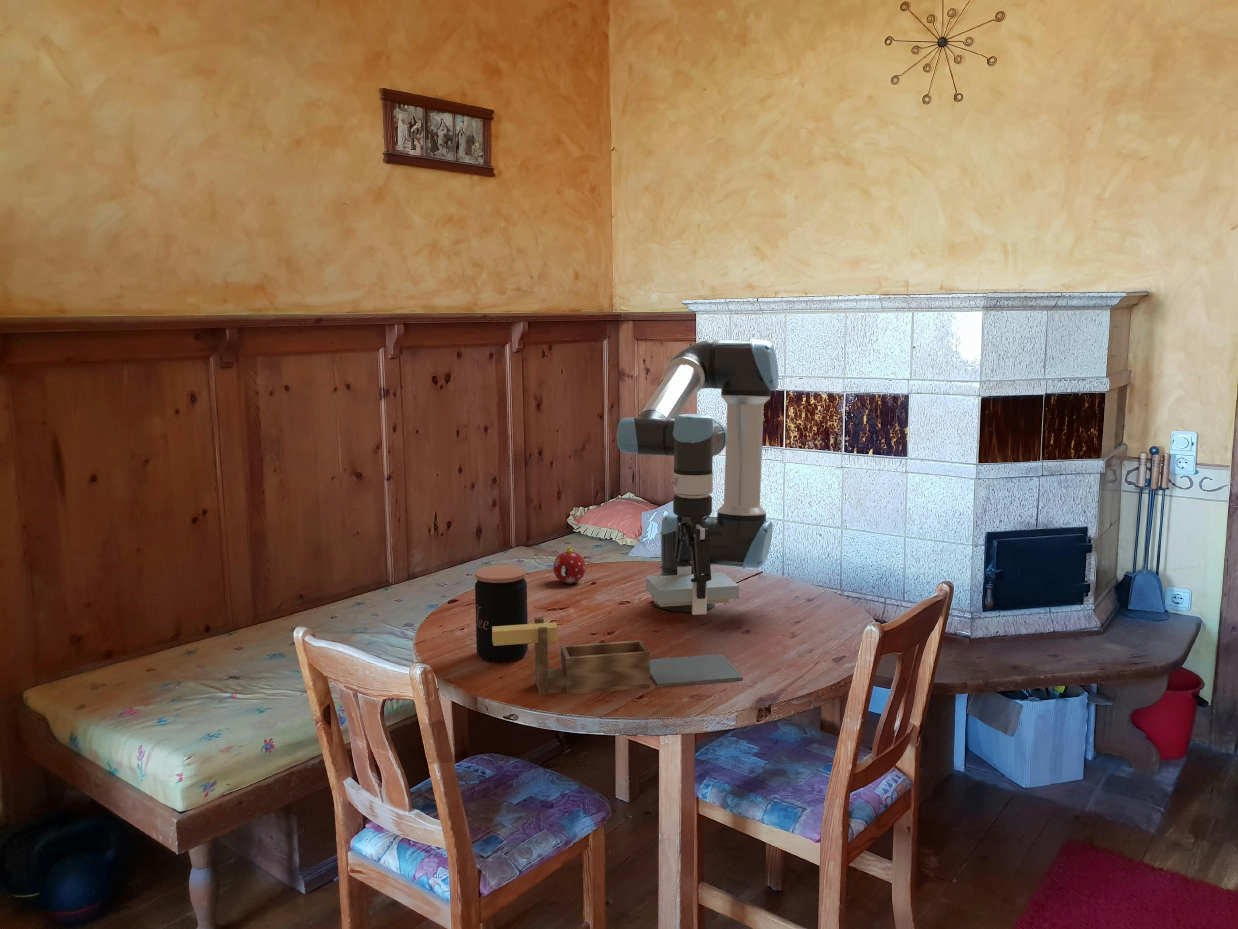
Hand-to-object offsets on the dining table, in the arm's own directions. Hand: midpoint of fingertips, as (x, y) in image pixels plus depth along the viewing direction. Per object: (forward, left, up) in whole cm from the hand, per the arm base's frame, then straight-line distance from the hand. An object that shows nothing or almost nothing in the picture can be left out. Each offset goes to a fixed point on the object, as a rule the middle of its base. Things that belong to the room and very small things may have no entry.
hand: (691, 605), depth 183 cm
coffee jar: (+36, -17, -14) cm, 42 cm away
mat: (0, 0, -14) cm, 14 cm away
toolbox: (+20, +3, -14) cm, 25 cm away
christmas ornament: (+14, -68, -14) cm, 71 cm away
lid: (0, 0, +2) cm, 2 cm away
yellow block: (+33, +3, -4) cm, 33 cm away
